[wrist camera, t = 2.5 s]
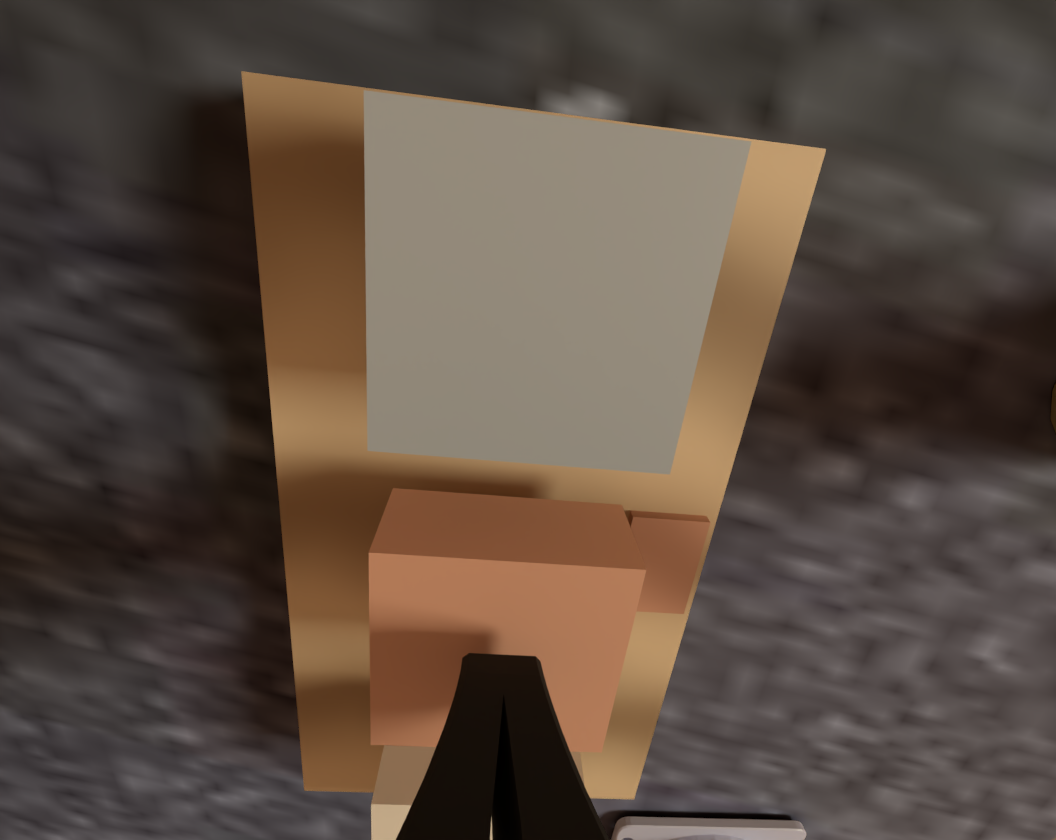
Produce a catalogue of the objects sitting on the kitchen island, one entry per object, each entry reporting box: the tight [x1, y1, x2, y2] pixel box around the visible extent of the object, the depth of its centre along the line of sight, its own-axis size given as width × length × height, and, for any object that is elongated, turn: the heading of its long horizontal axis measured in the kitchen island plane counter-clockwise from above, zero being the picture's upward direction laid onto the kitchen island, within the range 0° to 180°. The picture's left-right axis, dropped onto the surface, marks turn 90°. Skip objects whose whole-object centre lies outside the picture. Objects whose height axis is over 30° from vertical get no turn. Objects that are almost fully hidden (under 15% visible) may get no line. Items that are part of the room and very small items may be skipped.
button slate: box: [364, 90, 751, 474], centre depth 9 cm, size 5×5×2 cm
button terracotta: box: [369, 488, 646, 753], centre depth 11 cm, size 5×5×2 cm
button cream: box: [371, 745, 585, 840], centre depth 14 cm, size 5×5×2 cm
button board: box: [241, 71, 826, 799], centre depth 14 cm, size 20×11×3 cm, turn 174°
